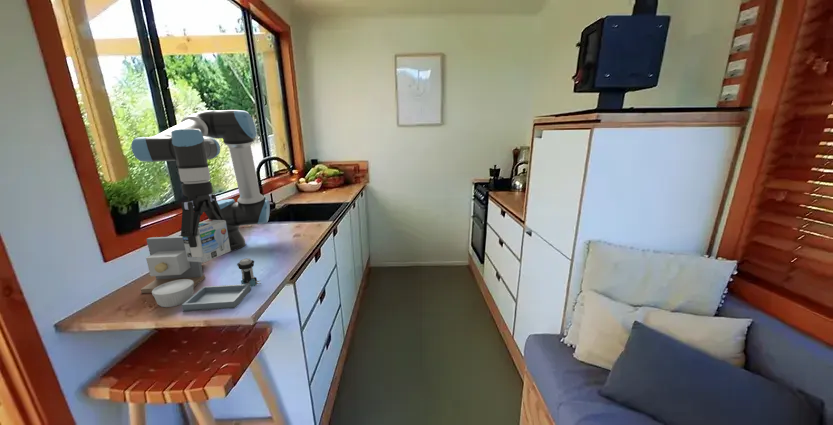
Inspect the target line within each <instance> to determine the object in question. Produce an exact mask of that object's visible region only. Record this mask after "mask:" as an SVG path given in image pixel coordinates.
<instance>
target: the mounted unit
mask: <svg viewBox="0 0 833 425" xmlns="http://www.w3.org/2000/svg"><path fill="white" fill-rule="evenodd" d="M145 241H146V244H147V248H148V251H149V256H146V257H145V259H146V265H147V268H148V271H149V275H150V277H155V279H154V280H152V281H151V282H150V283H148V284H146V285H145V286H143V287H141V289H140V292H141V294H152V290H153V289H154V288H156V287H158V286H160V285H162V284H164V283H167V282H171V281H175V280H181V279H190V280H192V281H193V282H194V285H193V288H195V286H197V285H198V284H200V283H202V281H203V280H204V279H205V278H206V275H205V274H204V272H203V271H204V270H203V266H202V265H203V264H202V265H201V262H193V261H188V260H187V255H186V250H185V245H184V241H183V237H182V236H179V235H178V236H160V237H159V236H156V237H155V236H153V237H148V238H146V240H145Z"/></svg>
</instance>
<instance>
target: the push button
mask: <svg viewBox="0 0 833 425" xmlns="http://www.w3.org/2000/svg"><path fill="white" fill-rule="evenodd" d="M254 264H255V260H252V259H251V258H249V257H248V258H242V259H240V260H239V262H238V263H237V264H236V266H237V267H238V270H241V280H240V283H241V284H250V286H251V288H252V287H256V285H260V284H262V282H261V280H258V279H257V277H256V276H255V275H254V271H253V267H255V265H254Z"/></svg>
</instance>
